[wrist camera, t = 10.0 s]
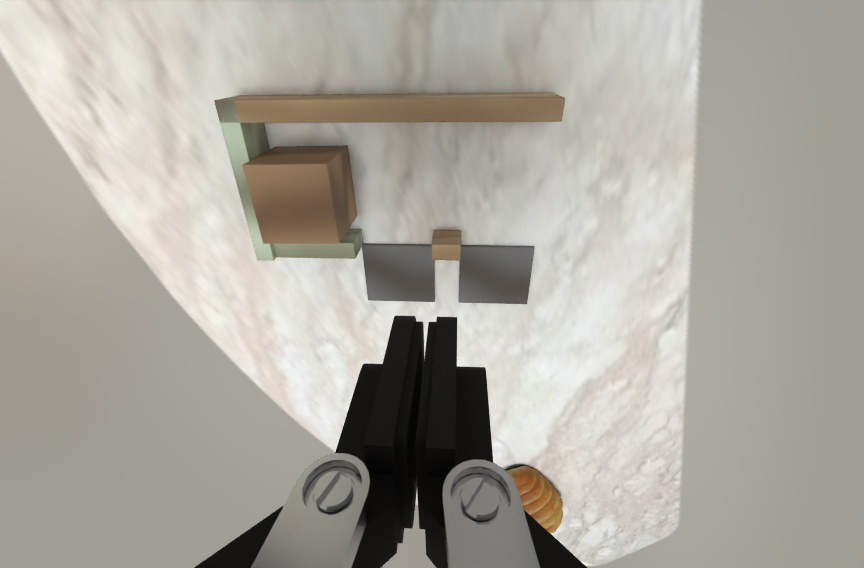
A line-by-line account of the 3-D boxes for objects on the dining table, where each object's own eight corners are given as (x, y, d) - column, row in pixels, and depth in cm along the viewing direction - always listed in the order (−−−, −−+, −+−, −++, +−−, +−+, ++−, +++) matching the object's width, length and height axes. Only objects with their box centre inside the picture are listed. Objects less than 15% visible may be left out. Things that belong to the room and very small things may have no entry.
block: (276, 146, 27) (241, 165, 23) (347, 145, 27) (326, 164, 22) (291, 215, 30) (263, 243, 25) (357, 215, 29) (339, 243, 25)
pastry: (483, 468, 44) (485, 502, 41) (541, 455, 42) (549, 489, 39) (511, 513, 48) (515, 547, 45) (565, 502, 46) (573, 536, 43)
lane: (239, 95, 25) (214, 100, 23) (553, 92, 24) (565, 98, 22) (287, 296, 33) (272, 317, 31) (526, 302, 32) (532, 324, 29)
